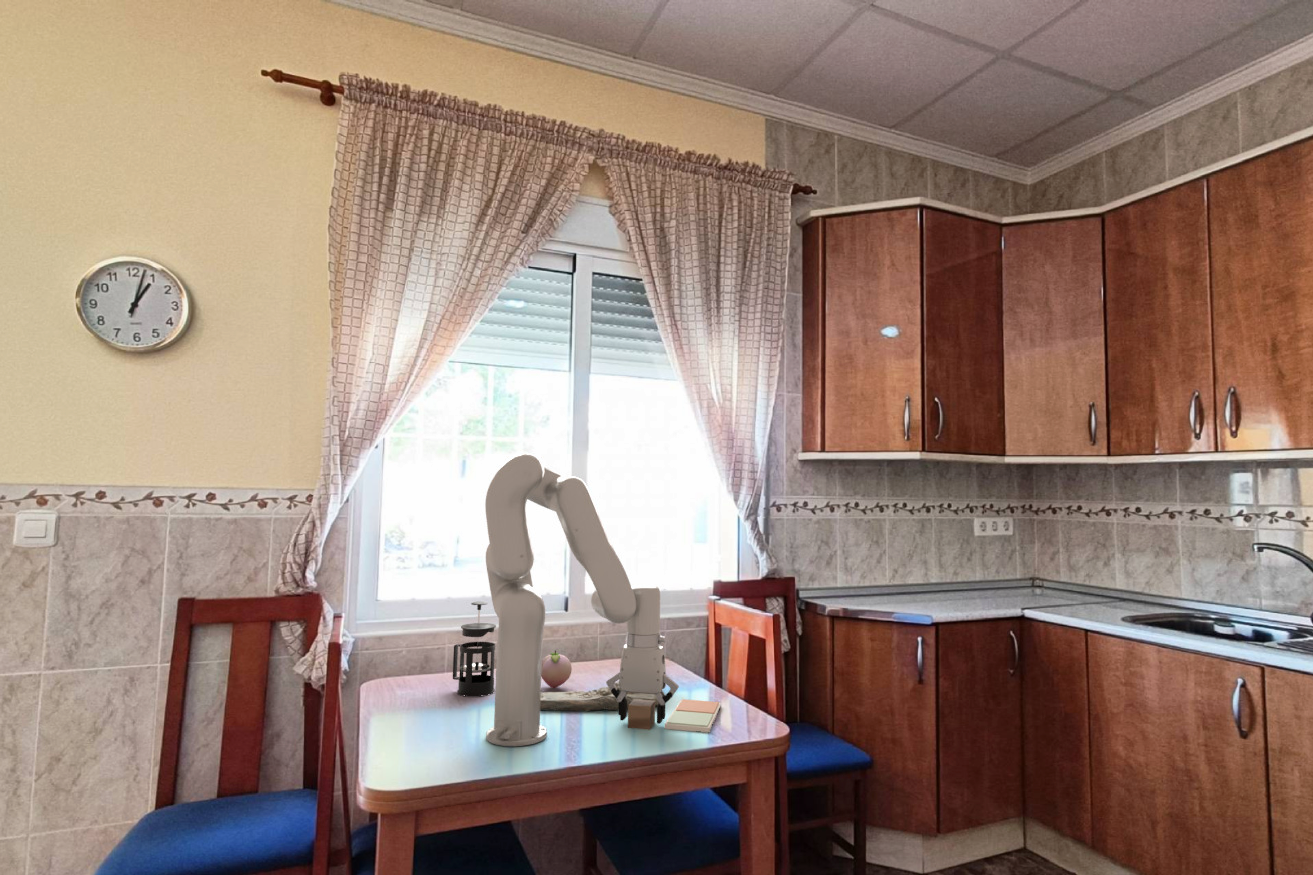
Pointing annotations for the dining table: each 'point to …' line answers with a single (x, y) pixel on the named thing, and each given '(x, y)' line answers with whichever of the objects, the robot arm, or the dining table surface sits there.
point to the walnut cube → (641, 714)
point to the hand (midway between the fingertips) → (641, 719)
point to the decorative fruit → (555, 669)
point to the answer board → (693, 715)
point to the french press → (476, 683)
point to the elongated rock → (588, 700)
